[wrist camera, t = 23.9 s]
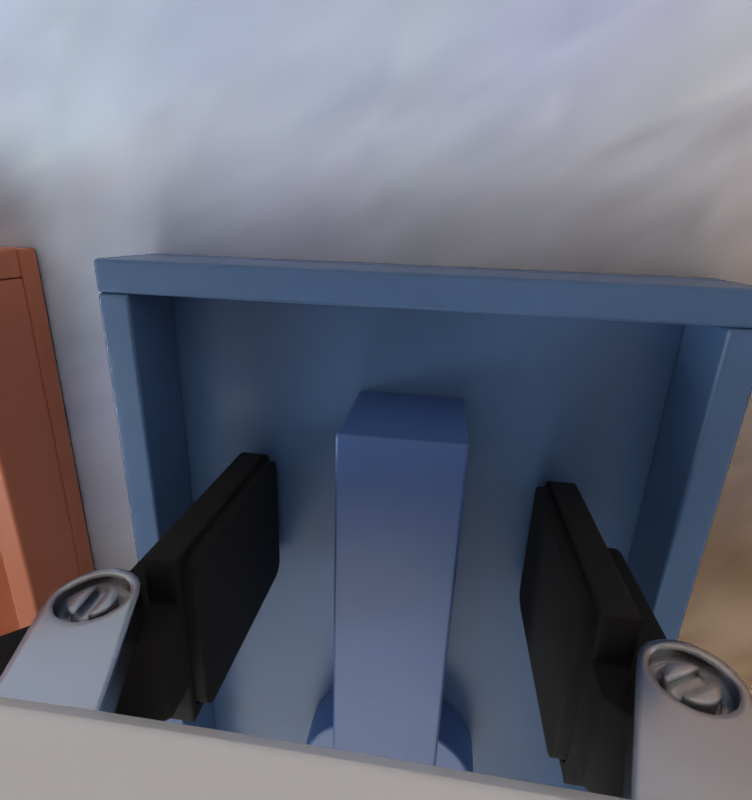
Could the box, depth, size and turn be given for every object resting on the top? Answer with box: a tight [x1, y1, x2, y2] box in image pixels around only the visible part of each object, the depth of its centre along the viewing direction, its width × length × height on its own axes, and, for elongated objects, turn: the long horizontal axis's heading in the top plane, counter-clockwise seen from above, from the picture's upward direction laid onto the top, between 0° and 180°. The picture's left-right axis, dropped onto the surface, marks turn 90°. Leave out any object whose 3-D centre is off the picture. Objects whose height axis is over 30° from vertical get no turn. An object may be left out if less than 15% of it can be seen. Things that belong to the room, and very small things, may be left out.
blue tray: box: [94, 254, 752, 792], centre depth 12 cm, size 17×11×2 cm, turn 178°
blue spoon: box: [306, 391, 473, 772], centre depth 11 cm, size 12×4×2 cm, turn 178°
